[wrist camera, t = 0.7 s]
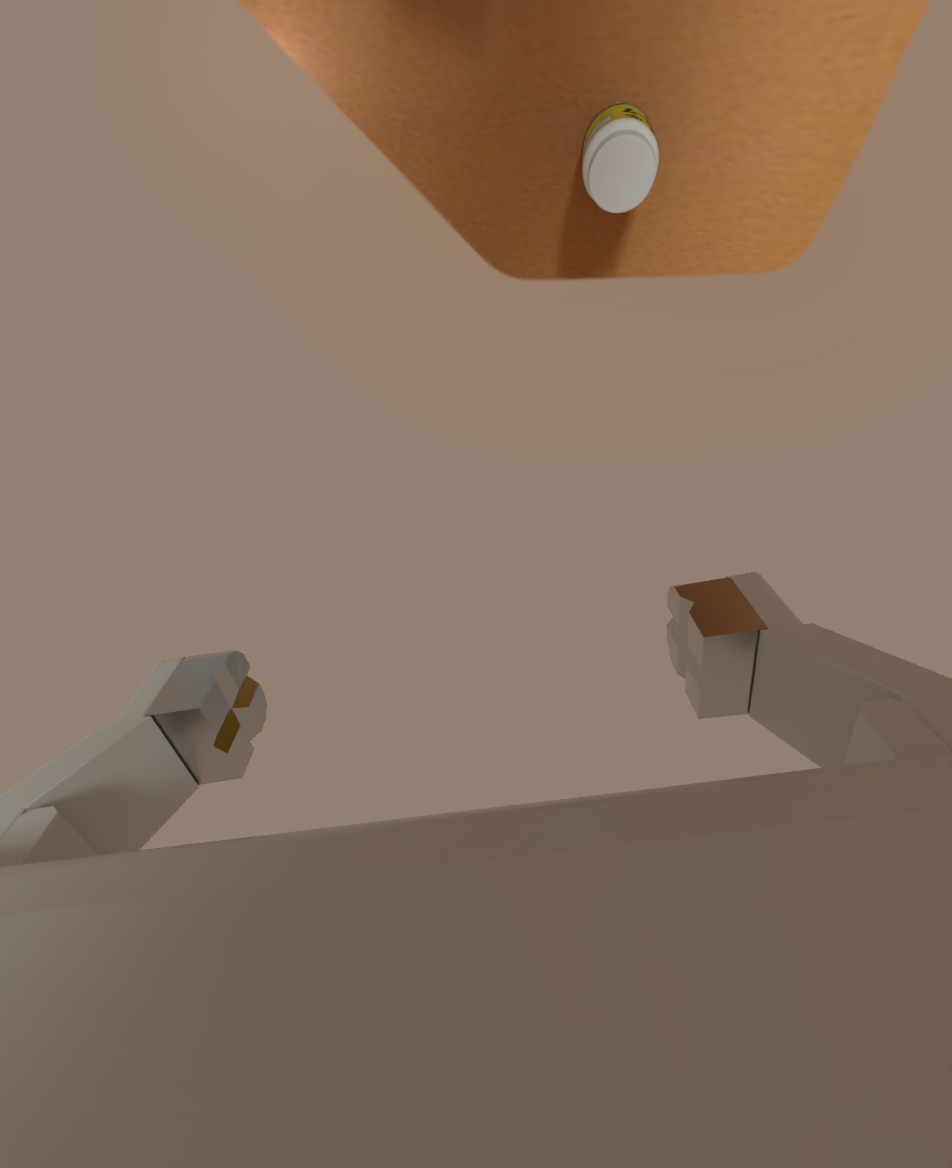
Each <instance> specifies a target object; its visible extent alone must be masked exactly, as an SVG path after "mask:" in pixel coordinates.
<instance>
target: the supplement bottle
mask: <svg viewBox="0 0 952 1168" xmlns="http://www.w3.org/2000/svg"><path fill="white" fill-rule="evenodd" d="M658 165H659V149H658V144H657V141H656V138H655V136H654V133H653V130H652V127H651V125H650V122H649V120H648V118H647V116H646V115H645V114H644V112H643V111H642V110H641V109H639V108H638V107H637V106H635V105H633V104H630V103H625V102H620V103H615V104H612V105H610V106H607V107H606V108H604V109H603V110H602V111H600V112H599V113H598V114H597V115H596V116H595V118H594V119H593V120H592V122H591V123H590V125H589V127H588V129H587V132H586V134H585V138H584V142H583V157H582V174H583V181H584V185H585V188H586V190H587V192H588V194H589V195H590V197H591V198H592V199H593V200H594V201H595V202H596V204H597V205H598V206H599V207H600V208H602V209H603V210H605V211H608V212H611V213H623V212H627V211H629V210H631V209H633V208H635V207H636V206H638V205H639V204H640V203H641V202H642V201H643V200H644V199H645V198H646V196H647V195H648V193H649V191H650V189H651V187H652V185H653V182H654V179H655V177H656V174H657V170H658Z"/></svg>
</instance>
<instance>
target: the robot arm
mask: <svg viewBox="0 0 952 1168" xmlns="http://www.w3.org/2000/svg"><path fill="white" fill-rule="evenodd" d="M667 606H668V608H669V609H670V611H671V613H672V615H673V618H672V619H671V621H670V622H669V623H668V624H667V641H668V647H669V653H670V656H671V660H672V663H673V666H674V668H675V670H676V672H677V674H678V675H680V676H681V677H683V678H685V679H686V691H685V692H686V694H687V696H688V698H689V700H690V702H691V704H692V706H693V708H694V710H695V712H696V714H697V717H698V718H699V719H700V718H710V717H721V716H731V715H740V714H749V716H750V717H751V718H753V719H754V720H756V721H757V722H758V723H760V724H761V725H762V726H764V727H765V728H767V729H768V730H769V731H771V732H772V733H774V734H775V735H776V736H778V737H779V738H781V739H782V740H783V741H785V742H786V743H788V744H789V745H791V746H792V747H793V748H795V749H796V750H797V751H799V752H800V753H802V754H803V755H804V756H806V757H807V758H809V759H810V760H811V761H813V762H814V763H816V764H817V765H818V766H820V767H821V768H819V769H818V768H817V769H809V770H801V771H792V772H785V773H776V774H768V775H759V776H751V777H743V778H735V779H727V780H719V781H711V782H703V783H694V784H686V785H678V786H670V787H663V788H654V789H646V790H638V791H629V792H620V793H612V794H603V795H596V796H587V797H578V798H569V799H562V800H552V801H544V802H536V803H528V804H519V805H511V806H503V807H494V808H485V809H477V810H469V811H460V812H452V813H444V814H435V815H427V816H419V817H411V818H403V819H394V820H387V821H378V822H370V823H362V824H354V825H345V826H337V827H328V828H320V829H312V830H304V831H296V832H287V833H279V834H270V835H262V836H254V837H246V838H238V839H230V840H221V841H213V842H205V843H196V844H188V845H179V846H171V847H163V848H155V849H147V850H140V849H141V848H142V847H143V846H144V845H145V844H146V843H147V841H149V840H150V838H151V837H152V836H153V835H154V834H155V833H156V832H157V831H158V830H159V829H160V828H161V827H162V826H163V824H165V823H166V821H167V820H168V819H169V818H170V817H171V816H172V815H173V814H174V813H175V812H176V811H177V810H178V809H179V808H180V807H181V806H182V804H183V803H184V802H185V801H186V800H187V799H188V798H189V797H190V796H191V795H192V794H193V793H194V792H195V791H196V790H197V789H198V787H199V786H198V785H200V784H206V783H212V782H218V781H225V780H231V779H237V778H242V777H243V775H244V772H245V770H246V767H247V765H248V762H249V760H250V758H251V755H252V753H253V750H254V748H253V746H252V744H251V742H250V740H252V739H253V738H254V737H255V736H256V735H257V734H258V733H259V732H261V730H262V728H263V725H264V722H265V720H266V706H267V705H266V699H265V695H264V692H263V690H262V688H261V686H260V684H259V683H258V682H256V681H254V680H253V679H251V678H250V677H248V676H247V675H248V672H249V669H250V665H249V663H248V661H247V660H246V658H245V656H244V654H243V653H241V652H238V651H228V652H220V653H213V654H204V655H197V656H188V657H182V658H175V659H168V660H163V661H161V662H159V663H156V665H155V666H154V668H153V669H152V671H151V672H150V673H149V675H148V676H147V677H146V679H145V680H144V682H143V683H142V684H141V686H140V688H139V689H138V690H137V692H136V693H135V694H134V696H133V697H132V698H131V700H130V701H129V703H128V704H127V706H126V707H125V708H124V710H123V711H122V712H121V714H120V715H119V717H118V718H117V720H116V721H112V722H107V723H106V724H104V725H103V726H101V727H100V728H98V729H97V730H95V731H94V732H92V733H91V734H90V735H88V736H87V737H85V738H84V739H82V740H81V741H79V742H78V743H76V744H75V745H74V746H72V747H70V748H69V749H67V750H66V751H65V752H63V753H62V754H60V755H59V756H57V757H56V758H54V759H53V760H52V761H50V762H48V763H47V764H45V765H44V766H43V767H41V768H40V769H38V770H37V771H35V772H34V773H32V774H31V775H29V776H28V777H26V778H25V779H24V780H22V781H21V782H19V783H18V784H17V785H15V786H13V787H12V788H10V789H9V790H7V791H6V792H4V793H3V794H1V795H0V1168H952V679H951V678H949V677H946V676H944V675H941V674H939V673H936V672H933V671H931V670H928V669H926V668H924V667H921V666H918V665H916V664H913V663H911V662H908V661H906V660H903V659H901V658H898V657H896V656H893V655H890V654H888V653H886V652H883V651H881V650H878V649H876V648H873V647H871V646H868V645H866V644H863V643H861V642H858V641H855V640H853V639H850V638H848V637H846V636H843V635H840V634H838V633H835V632H833V631H830V630H828V629H825V628H823V627H820V626H818V625H815V624H813V623H810V624H802V623H801V621H800V620H799V619H798V618H797V617H796V616H795V614H794V613H793V612H792V611H791V610H790V609H789V607H788V606H787V605H786V604H785V603H784V602H783V600H782V599H781V598H780V597H779V596H778V595H777V593H776V592H775V591H774V590H773V589H772V588H771V586H770V585H769V584H768V583H767V582H766V581H765V579H763V577H762V576H761V575H760V574H759V573H756V572H751V573H745V574H740V575H735V576H729V577H726V578H722V579H715V580H709V581H702V582H696V583H691V584H683V585H678V586H671V587H669V591H668V605H667Z"/></svg>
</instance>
